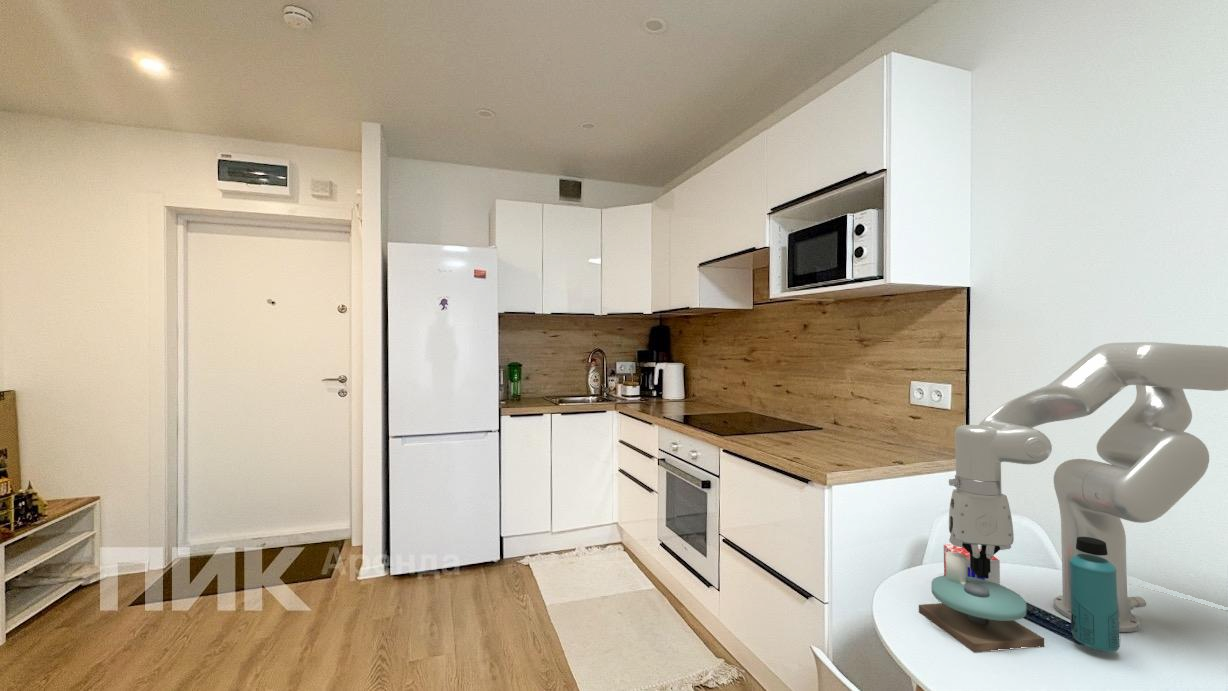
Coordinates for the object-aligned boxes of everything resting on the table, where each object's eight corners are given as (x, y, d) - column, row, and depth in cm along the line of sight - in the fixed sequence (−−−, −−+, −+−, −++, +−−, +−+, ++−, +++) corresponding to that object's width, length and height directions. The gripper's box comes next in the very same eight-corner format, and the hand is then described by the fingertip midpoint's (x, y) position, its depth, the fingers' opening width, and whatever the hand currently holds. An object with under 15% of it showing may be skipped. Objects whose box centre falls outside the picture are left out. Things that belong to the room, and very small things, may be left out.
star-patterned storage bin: (981, 579, 117) (980, 546, 117) (1000, 596, 109) (999, 560, 110) (943, 577, 119) (943, 544, 119) (960, 593, 111) (959, 557, 111)
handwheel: (954, 576, 107) (953, 546, 107) (1040, 606, 94) (1040, 572, 94) (916, 594, 100) (915, 561, 100) (1004, 629, 87) (1003, 592, 87)
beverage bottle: (1131, 663, 86) (1128, 547, 86) (1086, 658, 87) (1083, 544, 87) (1102, 641, 92) (1099, 533, 92) (1061, 637, 93) (1058, 531, 94)
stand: (980, 607, 105) (979, 582, 105) (1044, 646, 91) (1043, 618, 91) (918, 612, 103) (918, 587, 103) (974, 652, 89) (973, 623, 89)
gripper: (945, 489, 100) (947, 580, 100) (1031, 493, 96) (1033, 587, 96) (930, 479, 107) (932, 564, 107) (1010, 483, 104) (1012, 570, 103)
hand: (980, 575), depth 101 cm, fingers closed
